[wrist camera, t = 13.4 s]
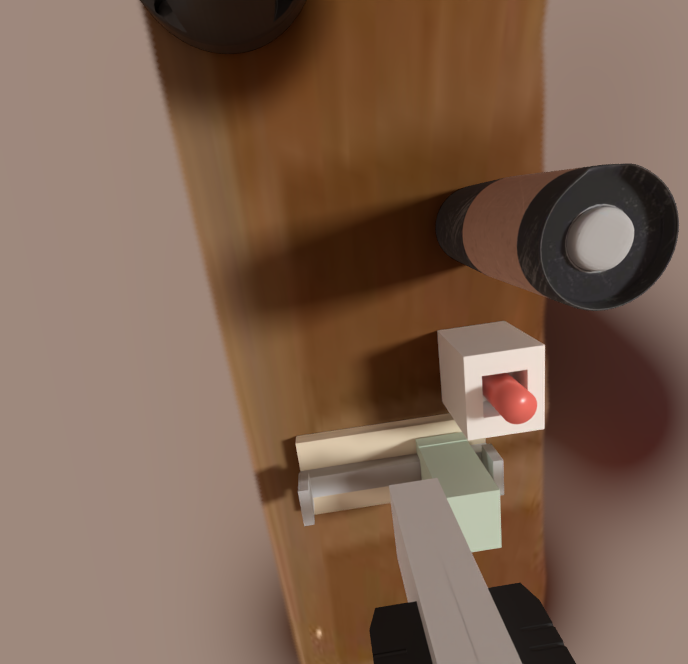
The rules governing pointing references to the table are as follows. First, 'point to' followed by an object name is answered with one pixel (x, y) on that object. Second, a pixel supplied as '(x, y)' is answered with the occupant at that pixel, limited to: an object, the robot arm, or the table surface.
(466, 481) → the carriage
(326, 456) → the rail
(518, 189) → the travel mug
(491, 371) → the hollow box
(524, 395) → the button
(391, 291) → the table surface
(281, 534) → the table surface
